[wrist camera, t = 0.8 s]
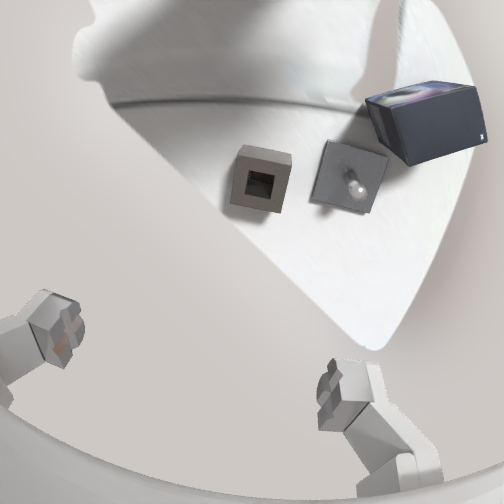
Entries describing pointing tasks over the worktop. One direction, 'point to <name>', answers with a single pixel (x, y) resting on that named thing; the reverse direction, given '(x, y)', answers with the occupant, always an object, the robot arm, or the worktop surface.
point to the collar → (256, 191)
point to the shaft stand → (349, 176)
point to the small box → (428, 120)
